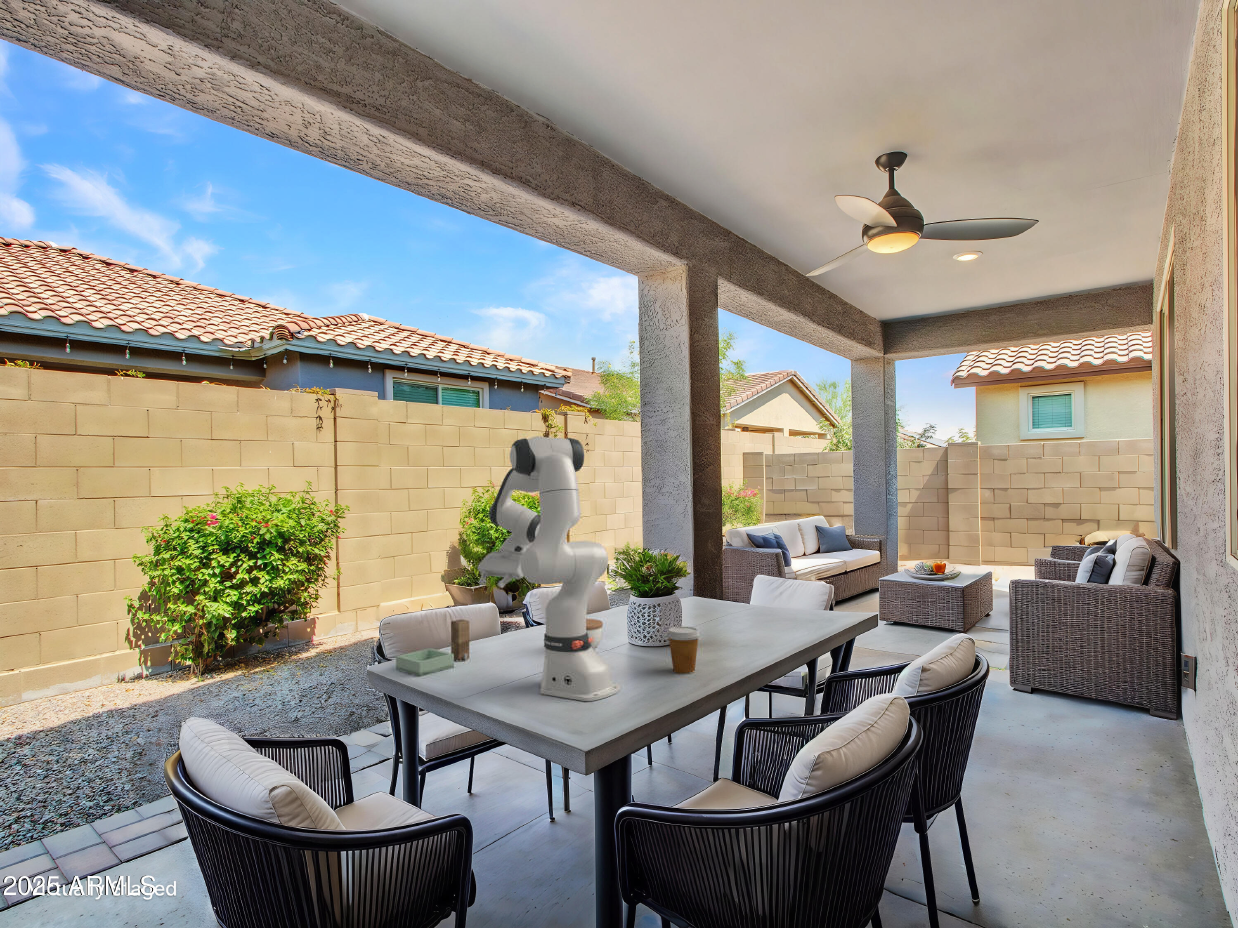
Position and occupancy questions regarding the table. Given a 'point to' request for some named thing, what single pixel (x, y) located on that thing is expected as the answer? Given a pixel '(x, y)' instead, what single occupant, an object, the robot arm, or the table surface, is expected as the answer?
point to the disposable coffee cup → (683, 648)
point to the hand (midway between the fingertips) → (490, 585)
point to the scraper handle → (460, 639)
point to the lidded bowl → (594, 631)
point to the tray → (424, 662)
